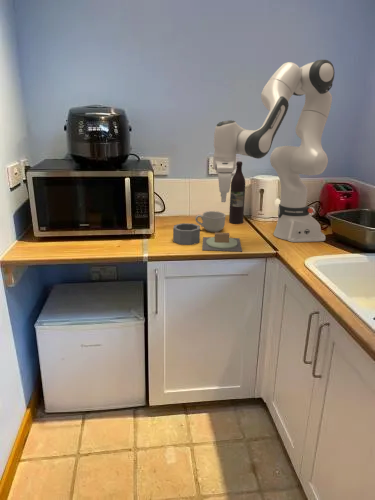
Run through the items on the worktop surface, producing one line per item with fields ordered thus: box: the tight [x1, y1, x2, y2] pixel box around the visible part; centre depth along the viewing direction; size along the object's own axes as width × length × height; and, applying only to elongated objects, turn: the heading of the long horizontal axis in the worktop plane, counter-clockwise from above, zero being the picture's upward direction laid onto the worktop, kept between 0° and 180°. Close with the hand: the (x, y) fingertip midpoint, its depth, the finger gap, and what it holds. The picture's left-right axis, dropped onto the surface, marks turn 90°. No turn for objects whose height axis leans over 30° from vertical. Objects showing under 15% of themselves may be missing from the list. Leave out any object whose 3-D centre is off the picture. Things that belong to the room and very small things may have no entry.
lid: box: [206, 232, 237, 249], centre depth 158 cm, size 13×13×4 cm
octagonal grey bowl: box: [172, 222, 201, 246], centre depth 162 cm, size 11×11×6 cm
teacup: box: [194, 210, 226, 233], centre depth 177 cm, size 14×11×8 cm
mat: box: [201, 236, 243, 253], centre depth 159 cm, size 16×16×1 cm
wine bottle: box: [228, 161, 246, 225], centre depth 186 cm, size 7×7×30 cm
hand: (223, 199), depth 153 cm, fingers open, 8 cm apart
